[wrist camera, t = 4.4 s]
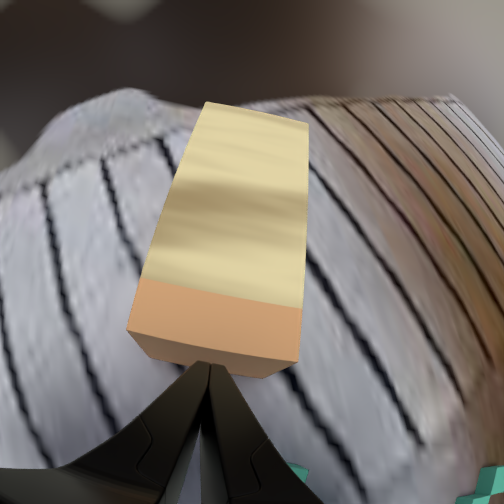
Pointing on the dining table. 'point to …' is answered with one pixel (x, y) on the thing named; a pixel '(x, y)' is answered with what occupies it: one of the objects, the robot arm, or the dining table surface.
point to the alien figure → (488, 484)
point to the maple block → (229, 248)
